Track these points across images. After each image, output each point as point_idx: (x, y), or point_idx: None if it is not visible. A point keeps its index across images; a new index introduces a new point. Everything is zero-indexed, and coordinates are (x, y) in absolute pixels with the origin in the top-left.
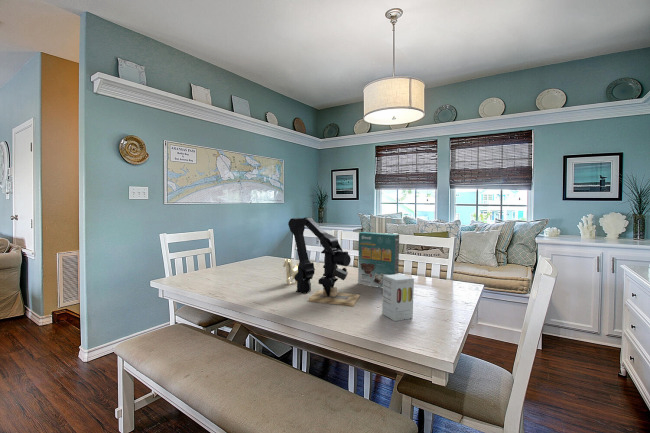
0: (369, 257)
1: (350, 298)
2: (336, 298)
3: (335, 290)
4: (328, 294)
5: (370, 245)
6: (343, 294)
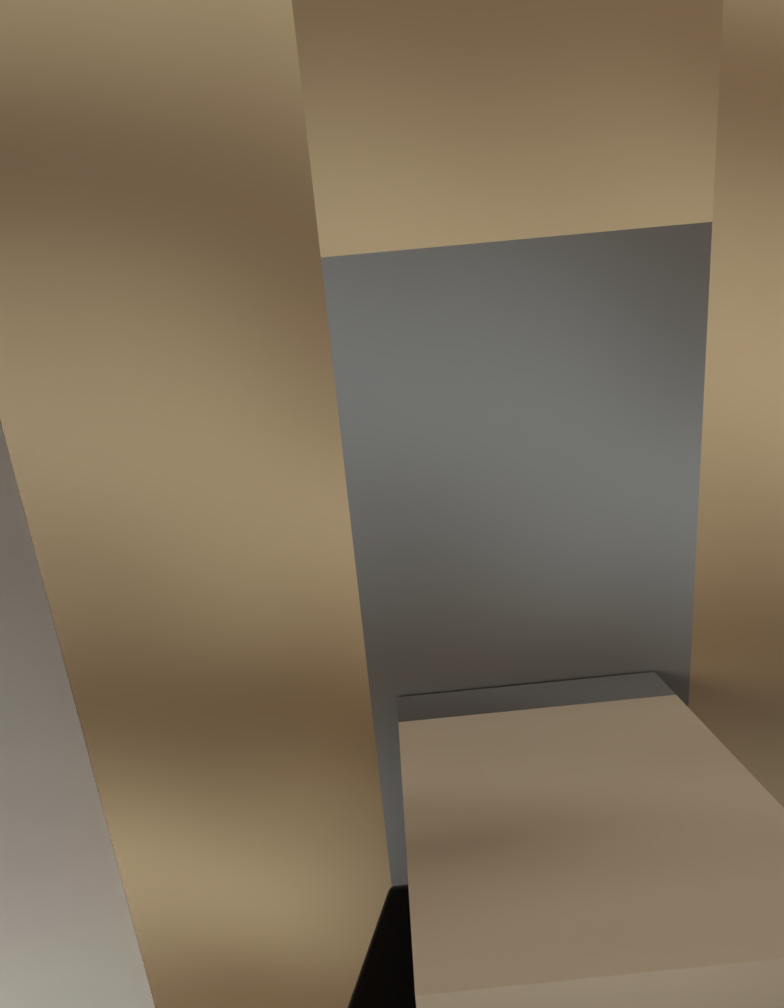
0: None
1: (531, 144)
2: (693, 607)
3: (712, 876)
4: None
5: None
6: (189, 547)
